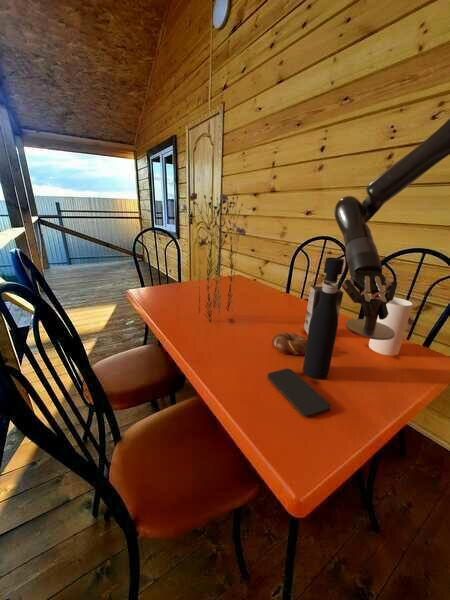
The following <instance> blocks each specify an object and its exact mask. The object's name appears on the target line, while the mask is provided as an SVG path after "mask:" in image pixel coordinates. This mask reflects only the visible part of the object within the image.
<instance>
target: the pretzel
mask: <svg viewBox="0 0 450 600" xmlns="http://www.w3.org/2000/svg"><path fill="white" fill-rule="evenodd" d="M271 345H272V347H273V348H275V349H276V350H277V351H278V352H279V353H280V354H283V355H294V356H297V355H299V356H302V355H305V351H306V345H307V339H306V337H304V336H303V335H300V336H299V334H297V333H295V332H293V333H292V332H291V333H289V332H280V333H277V334H275V335H274V336H273V337H272V339H271Z"/></svg>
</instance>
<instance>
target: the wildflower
mask: <svg viewBox="0 0 450 600" xmlns="http://www.w3.org/2000/svg"><path fill="white" fill-rule="evenodd" d="M190 194H191V195H189V199H190V202H192V205H194V206H195V208H196V210H197V211H198V212H199V214H200V215H198V216H199V217H200V218H201V219H202V220H203V222H204V226H205V230H206V231H207V232H208V234H209V235H210V240H209V238H208V236H206V239H203V237H202V238H201V236H200V235H198V246H197V247H198V249H202V250H204V249H205V245H207V244H206V243H207V242H208V243H209V244H210V248H208V250H209V254H208V257H206V258H207V259H206V261H205V262H206V266H207V267H206V280H207V284H209V282H210V279H211V277H212V276H213V275H214V274H215V275H216V276H215V277H216V278H215V280H214V282H215V285H214V286H215V287H214V292H213V294H212V296H213V297H214V298H212V301H213V302H211V298H210V296H211V293H210V291H209V290H210V287H212V286H213V283H211V285H210V286H209V285H206V286H205V287H206V290H207V300H205V302H206V304H204V306H205V308H206V309H204V311H205V312H206V314H205V313H203V315H204V316H205V317H206V318H207V319H208V321H209V323H211V322H212V318H213V317H212V314H213V313H212V312H213V310H215V308H216V309H217V312H218V315H220V314H221V306H220V305H221V304H222V303H221V301H220V300H221V295H220V287H221V285H220V286H219V285H218V284H219V283H220V282H221V280H222V278H220V280H219V279H218V278H219V277H220V274H221V271H222V270H223V269H225V267H222V266H223V265H224V263H223V264H222V262H223V260H224V257H223V253H222V247H223V246H225V240H226V238H227V236H228V235H229V240H230V241H232V240H233V243H232V242H231V244H230V251H228V253H229V254H228V255H227V257H228V259H229V260H230V261H233V260H234V257H232V254H233V253H232V252H233V244H238V242H239V240H240V237H238V236H245V235H246V230H245V229H244V228H241V227H240V226H239V227H238V226H237V219H239V216H240V213H241V210H236V208H235V206H236V202H234V201H235V197H234V196H232V201H230V200H229V197H228V196H229V195H225V194H220V196H219V197H218V196H216V201H217V202H216V206H213V202H212V200H213V196H210V198H209V199H210V202H208V205H207V202H206V198H207V196H206V194H204V195H203V198H204V205H205V210H203V209H202V208H203V207H201V208H200V207H199V203H198V202H196V201H197V199H198V193H197V192H192V193H190ZM219 199H220V202H218V200H219ZM238 199H239V196H238V195H237V196H236V200H238ZM224 204H226V206H224ZM243 205H244V202H241V206H240V208H242V206H243ZM208 208H209V209H210V210H211V214H212V215H211V216H209V214H207V213H209V212H210V210H209V209H208ZM231 208H232V209H231ZM230 209H231V212H230ZM207 210H208V211H207ZM203 211H204V213H205V217H206V218H207V219H208V220H207V222H206V221H205V220H204V216H203V215H202V213H203ZM223 212H225V215H223ZM232 212H234V214H232ZM237 212H238V214H237ZM235 214H237V217H236V216H235ZM227 215H228V216H229V217H230V218H228V219H227V220H228V222H227V220H226V218H227ZM218 218H220V219H218ZM231 218H233V219H235V218H236V220H235V222H231ZM210 219H211V220H212V221H214V220H215V221H214V224H213V225H212V227H211V226H210V225H211V223H212V221H210ZM217 219H218V221H217ZM221 220H222V221H221ZM220 221H221V222H223V223H222V224H219V222H220ZM227 223H228V224H229V227H228V224H227ZM232 225H233V226H232ZM216 227H217V229H218V230H216V233H215V236H216V239H217V243H219V242H220V245H215V248H216V250H217V252H218V253H217V254H216V258H217V261H216V260H214V257H212V246H213V245H214V244H213V243H215V244H216V241H215V238H213V237H214V231H212V230H213V229H214V228H216ZM224 227H225V228H226V231H223V228H224ZM235 228H236V229H235ZM232 232H235V237H233V236H231V234H232ZM217 233H219V234H220V236H219V235H217ZM200 239H201V240H200ZM223 239H224V240H223ZM237 253H238V247H236V250H235V252H234V255H235V258H237V257H236V256H237ZM213 260H214V261H213ZM215 262H216V268H215V267H214V264H215ZM227 263H228V265H229V267H230V275H229V273H228V272H227V276H228V277H229V279H230V282H233V281H235V276H236V266H234V265H237V261H236V260H234V264H233V262H229V261H228V262H227ZM199 264H202V258H199ZM212 267H213V268H212ZM221 267H222V268H221ZM233 267H234V269H233ZM233 270H234V271H233ZM213 271H214V272H213ZM212 272H213V273H212ZM198 273H199V276H201V274H202V272H201V270H200V267H198ZM211 273H212V274H211ZM198 280H199V283H201V277H198ZM198 288H199V289H198V290H199V291H198V313H201V307H200V306H201V287H198ZM228 289H229V290H228V292H227V303H228V305H227V306H225V309H226V310H227V312H230V305H231V313H232V315H234V301H232V299H233V296H234V291H235V287H232V284H231V283H229V288H228ZM212 307H213V310H212ZM207 315H208V316H207Z"/></svg>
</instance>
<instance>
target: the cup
mask: <svg viewBox="0 0 450 600" xmlns="http://www.w3.org/2000/svg"><path fill="white" fill-rule="evenodd" d="M413 305H414V303H413V302H411V301H410V300H408V299H403V298H400V297H395V296H394V298H393V300H391V301H390V302H388V303H387V304H386V306H387V310H388V316H387V317H386V318H385V319H383V320H381V319H379V316H378V318H377V322H379V323H381V324H384V325H386V326H388V327H390V328H391V329H393V330H394V332H395V336H394V337H393V338H392V339H389V340H375V339H369V341H368V348H369V349H370V350H371V351H373V352H375V353H378V354H380V355H384V356H390V357H391V356H392V357H393V356H398V355H399V354H400V350H401V346H402V343H403V340H404V337H405V333H406V330H407V326H408V323H409V319H410V316H411V313H412V309H413Z"/></svg>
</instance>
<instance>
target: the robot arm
mask: <svg viewBox="0 0 450 600" xmlns="http://www.w3.org/2000/svg"><path fill="white" fill-rule="evenodd" d="M448 156H450V117H449V118H448V119H447V120H446V121H445V122H444V123H443V124H442V125H441V126H440V127H439V128H438V129H436V131H434V132H433V133H432V134H431V135H430V136H429V137H427V138H426V139H425V140H424V141H423V142H421V143H420V144H419V145H417V146H416V147H414V149H412V150H411V151H410V152H408V153H407V154H405V155H404V156H402V157H401V158H400V159H399V160H398V161H396V162H395V163H393V164H392V165H390V167H388V168H386V169H385V170H384V171H383V172H382V173H380V174H379V175H378V176H377V177H376V178H375V179H373V180H372V181H370V182H369V183H368V184H367V185H366V188H365V193H366V197H365V198H364V199H363V200H362V202H361V201H360V200H359V199H358V198H357V197H355V196H353V195H346V196H343V197H341V198H340V199H339V200H338V201H337V202H336V204H335V207H334V214H333V215H334V219H335V221H336V224H337V226H338V228H339V231H340V232H341V234H342V237H343V238H342V239H343V243H344V247H345V259H346V262H347V267H348V271H349V272H348V273H349V276H350V279H348V278H347V279H345V280H344V281H343V283H342V284H341V288H342V289H343V290H344V292H345V293H346V294H347V296H348V297H349V299H351V301H352V302H353V303H354V304H359V305H361V306H362V307H361V308H362V312H363V315H364V317H365V318H366V317H367V319H372V318H373V317H374V311H373V307H372V303H371V302H370V299H373V298H374V299H379V300H381V301H382V302H381V306H380V310H379V314H378V316H379V319H381V320H383V319H385V318H386V317H387V316H388V310H387V306H386V304H387V303H388V302H390V301H391V300H393V298H394V297H395V293H396V290H397V287H398V282H397V281H396V280H393V281H390V280H388V279H386V276H385V275H384V274H383V266H382V262H381V259H380V256H379V252H378V248H377V245H376V244H375V241H374V238H373V235H372V230H371V228H370V226H369V225H368V224H367V223H368V222H369V221H370V220H371V219H373V217H374V216H375V215H376V214H377V213H378V212H379V210H380V209H382V207H383V206H384V205H385V204H386V203H387V202H389V201H390V200H392V199H393V198H394V197H396V196H397V195H398V194H399V193H401V192H402V191H404V190H405V189H406V188H408V187H409V186H410V185H412V184H413V183H415V182H416V181H417V180H418V179H419V178H420V177H422V176H423V175H424V174H426V173H427V172H428V171H429V170H431V169H432V168H434V167H435V166H436V165H437V164H439V163H440V162H441V161H443V160H444V159H445V158H447V157H448ZM383 286H384V287H383Z"/></svg>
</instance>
